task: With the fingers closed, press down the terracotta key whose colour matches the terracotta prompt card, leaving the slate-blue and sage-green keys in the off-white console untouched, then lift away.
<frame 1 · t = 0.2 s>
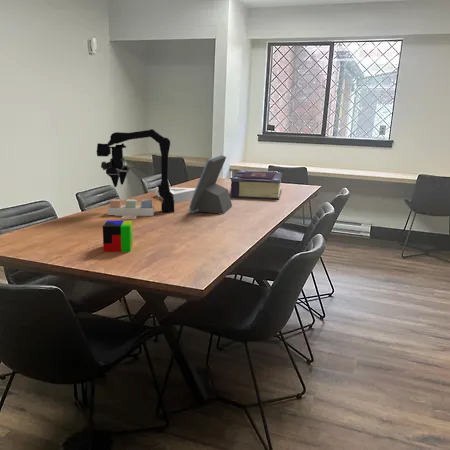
hand: (118, 185, 251), 14 cm above the table, tool pointing down, fingers open, 9 cm apart
key console: (131, 214, 246), on the table
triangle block: (171, 199, 298), on the table
slate blue key: (146, 205, 246), point 5 cm above the table, slide at 0.0 cm
book: (256, 194, 325), on the table
touchscreen device: (211, 209, 266), on the table
sage green key: (131, 204, 245), point 5 cm above the table, slide at 0.0 cm
puzzle toy: (118, 248, 183), on the table
prompt card: (129, 217, 238), on the table
terracotta key: (115, 204, 245), point 5 cm above the table, slide at 0.0 cm
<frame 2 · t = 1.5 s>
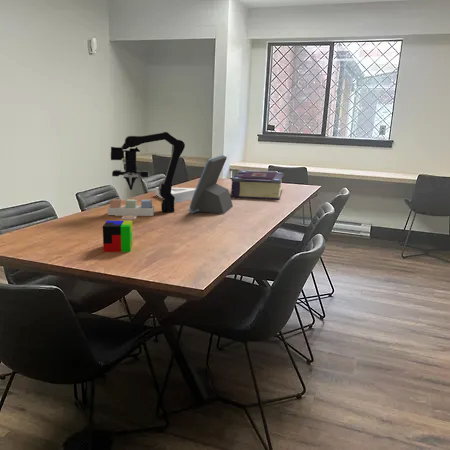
hand: (131, 189, 248), 12 cm above the table, tool pointing down, fingers closed
nothing on the table moved.
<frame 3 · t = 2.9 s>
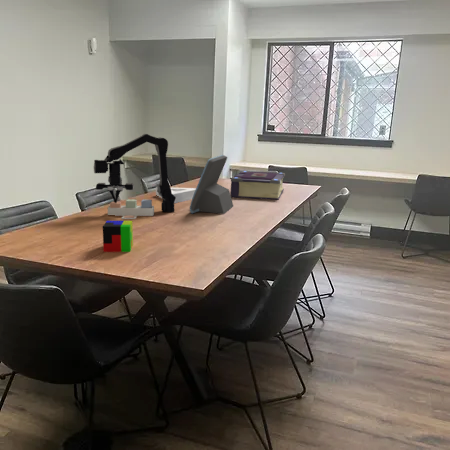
hand: (115, 202, 244), 6 cm above the table, tool pointing down, fingers closed, pressing on terracotta key
terracotta key: (115, 207, 245), point 4 cm above the table, slide at 1.4 cm, touching gripper
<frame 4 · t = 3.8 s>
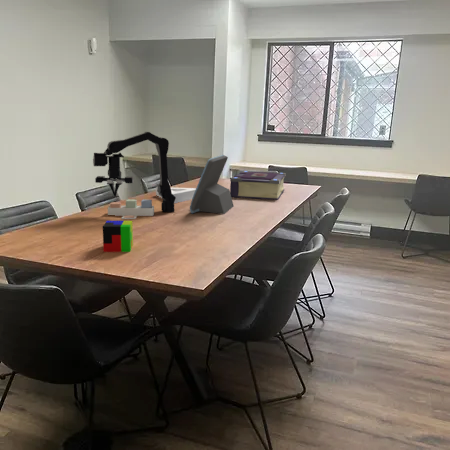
hand: (115, 196, 243), 10 cm above the table, tool pointing down, fingers closed
terracotta key: (115, 207, 245), point 3 cm above the table, slide at 1.6 cm
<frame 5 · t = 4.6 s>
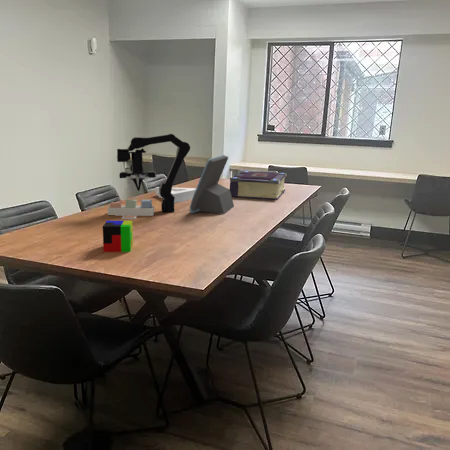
hand: (138, 190, 250), 12 cm above the table, tool pointing down, fingers closed
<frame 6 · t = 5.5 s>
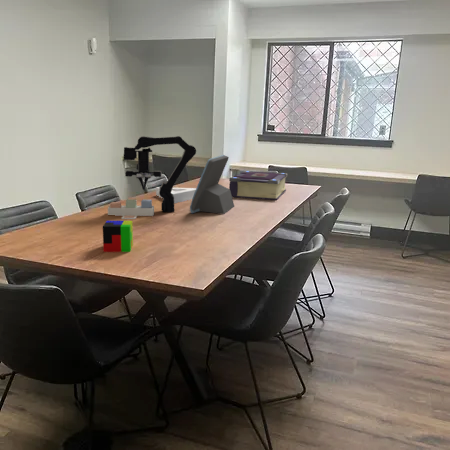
hand: (144, 189, 252), 12 cm above the table, tool pointing down, fingers closed
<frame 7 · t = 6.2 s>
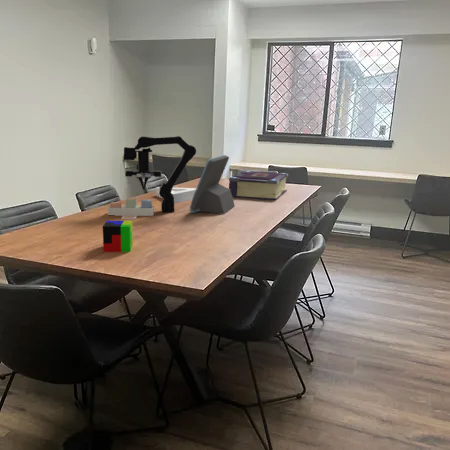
hand: (144, 189, 252), 12 cm above the table, tool pointing down, fingers closed
at the end: terracotta key slide at 1.6 cm; slate blue key slide at 0.0 cm; sage green key slide at 0.0 cm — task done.
